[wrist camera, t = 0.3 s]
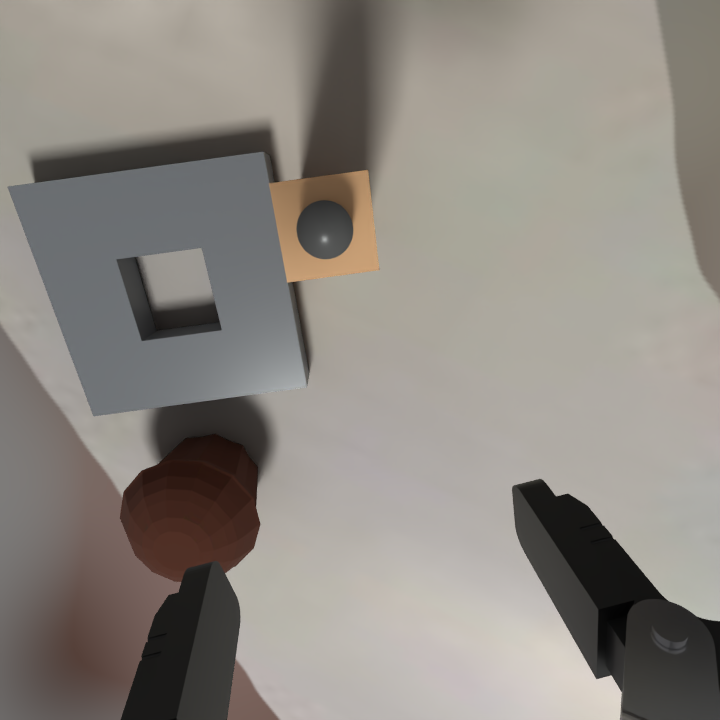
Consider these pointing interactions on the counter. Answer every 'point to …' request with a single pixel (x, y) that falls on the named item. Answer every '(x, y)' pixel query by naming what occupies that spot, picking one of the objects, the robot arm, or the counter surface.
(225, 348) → the socket
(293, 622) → the counter surface
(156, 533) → the muffin
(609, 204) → the counter surface
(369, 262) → the plug
